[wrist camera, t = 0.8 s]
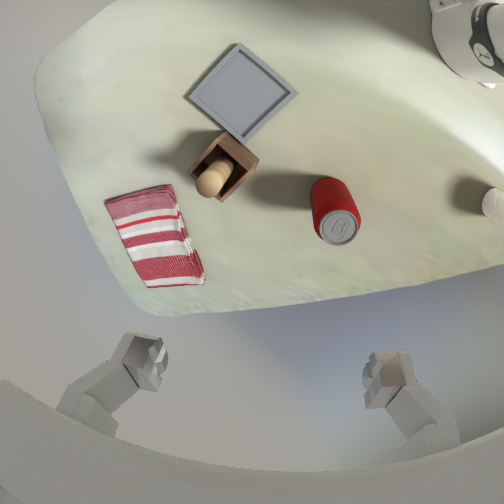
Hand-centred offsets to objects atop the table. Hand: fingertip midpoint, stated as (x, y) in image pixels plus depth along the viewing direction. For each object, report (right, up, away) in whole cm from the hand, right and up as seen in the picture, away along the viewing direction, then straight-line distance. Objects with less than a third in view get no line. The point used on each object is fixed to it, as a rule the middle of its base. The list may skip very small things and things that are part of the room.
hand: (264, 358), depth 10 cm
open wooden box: (-4, +19, +34) cm, 39 cm away
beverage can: (+13, +14, +35) cm, 40 cm away
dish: (-2, +29, +27) cm, 39 cm away
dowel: (-4, +19, +34) cm, 39 cm away
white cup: (+49, +14, +29) cm, 59 cm away
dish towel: (-21, +7, +46) cm, 51 cm away
